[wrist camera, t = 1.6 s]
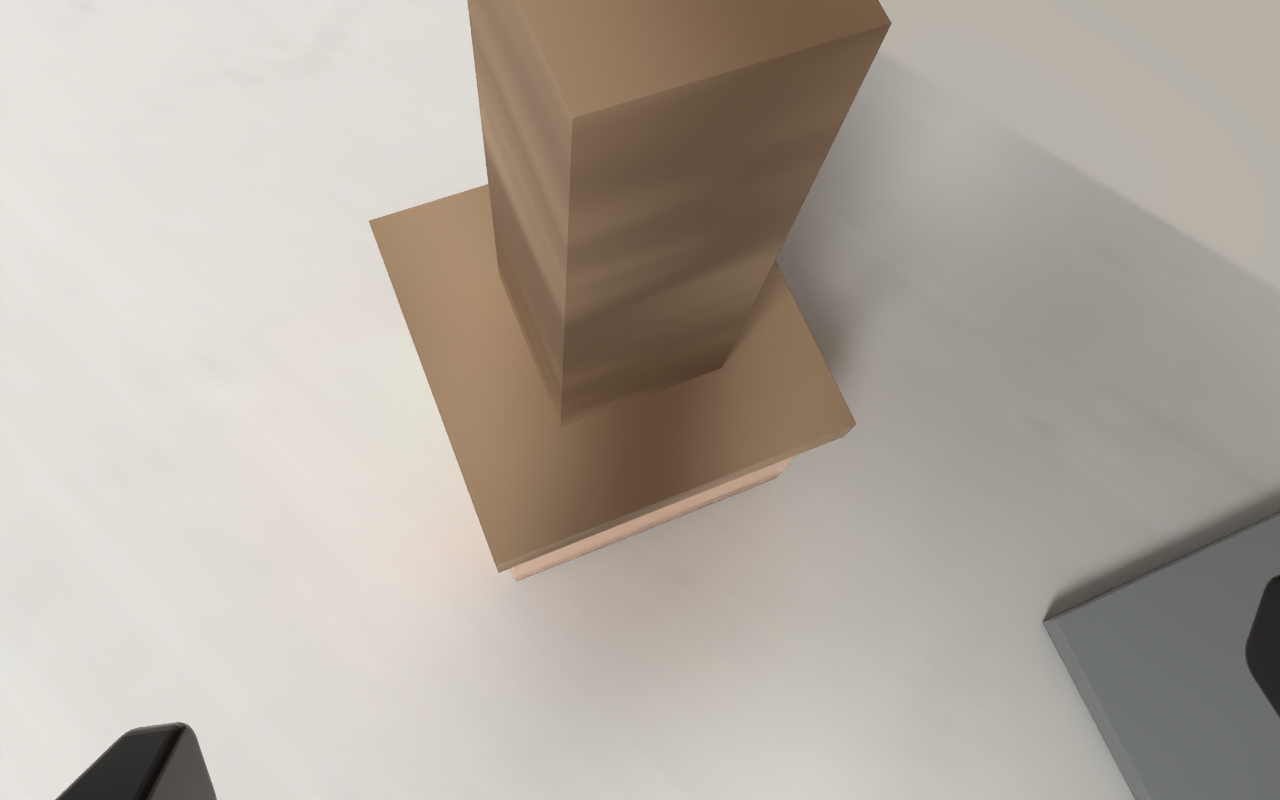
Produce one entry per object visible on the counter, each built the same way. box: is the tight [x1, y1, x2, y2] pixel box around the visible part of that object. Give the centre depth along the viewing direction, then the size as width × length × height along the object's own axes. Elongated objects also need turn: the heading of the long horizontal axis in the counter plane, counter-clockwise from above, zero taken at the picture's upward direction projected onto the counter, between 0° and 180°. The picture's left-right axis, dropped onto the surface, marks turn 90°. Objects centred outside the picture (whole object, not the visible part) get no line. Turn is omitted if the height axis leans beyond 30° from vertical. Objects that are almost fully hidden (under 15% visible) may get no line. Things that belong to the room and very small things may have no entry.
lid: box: [369, 0, 891, 573], centre depth 14 cm, size 7×7×10 cm
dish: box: [511, 455, 797, 581], centre depth 20 cm, size 6×6×4 cm
